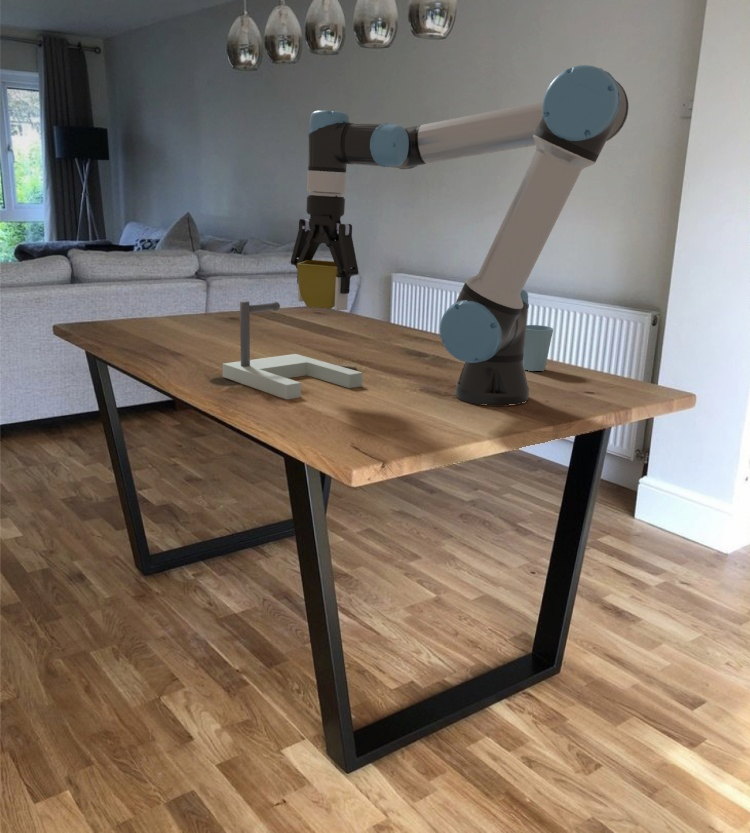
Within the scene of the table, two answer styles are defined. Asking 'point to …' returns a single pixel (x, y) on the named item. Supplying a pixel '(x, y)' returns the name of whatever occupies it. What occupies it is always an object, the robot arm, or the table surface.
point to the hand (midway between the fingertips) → (321, 305)
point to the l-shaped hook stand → (281, 365)
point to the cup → (536, 347)
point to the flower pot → (317, 283)
